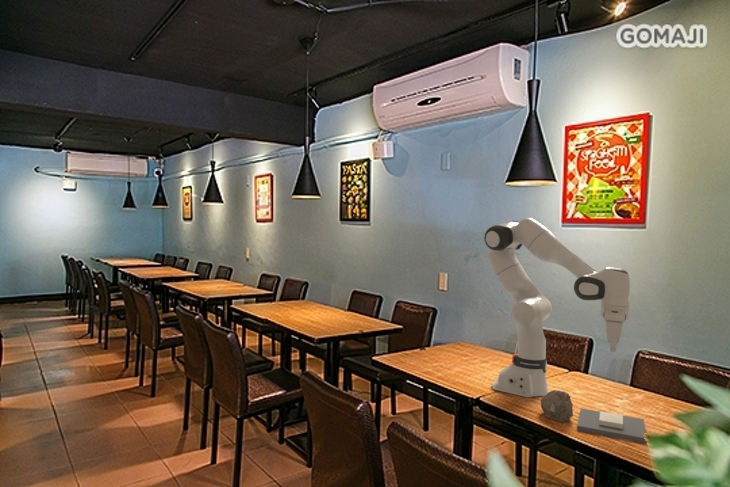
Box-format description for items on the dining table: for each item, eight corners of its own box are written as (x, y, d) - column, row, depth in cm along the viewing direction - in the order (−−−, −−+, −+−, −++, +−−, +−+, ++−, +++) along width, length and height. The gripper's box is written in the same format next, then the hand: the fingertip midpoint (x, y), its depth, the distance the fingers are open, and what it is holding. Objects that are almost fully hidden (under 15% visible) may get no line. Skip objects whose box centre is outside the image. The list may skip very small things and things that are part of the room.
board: (576, 430, 160) (577, 425, 160) (580, 412, 176) (580, 408, 176) (646, 443, 151) (646, 438, 150) (643, 423, 166) (643, 419, 166)
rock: (528, 396, 174) (542, 386, 178) (539, 423, 174) (552, 411, 178) (560, 400, 162) (573, 388, 166) (571, 428, 162) (585, 416, 166)
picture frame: (600, 416, 168) (599, 425, 160) (600, 411, 168) (599, 420, 160) (622, 420, 165) (622, 429, 157) (622, 415, 165) (623, 424, 157)
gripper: (605, 307, 183) (603, 343, 183) (604, 315, 164) (602, 355, 165) (624, 309, 180) (622, 346, 180) (625, 318, 162) (623, 358, 162)
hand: (612, 350), depth 172 cm, fingers closed
